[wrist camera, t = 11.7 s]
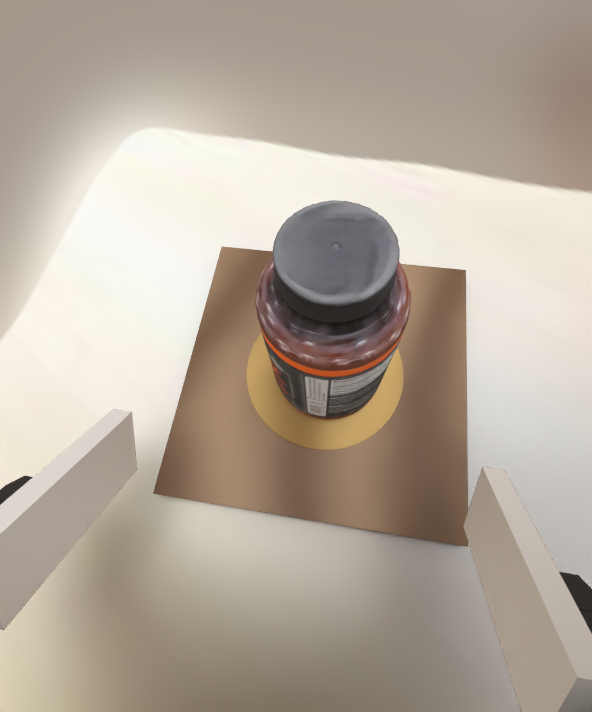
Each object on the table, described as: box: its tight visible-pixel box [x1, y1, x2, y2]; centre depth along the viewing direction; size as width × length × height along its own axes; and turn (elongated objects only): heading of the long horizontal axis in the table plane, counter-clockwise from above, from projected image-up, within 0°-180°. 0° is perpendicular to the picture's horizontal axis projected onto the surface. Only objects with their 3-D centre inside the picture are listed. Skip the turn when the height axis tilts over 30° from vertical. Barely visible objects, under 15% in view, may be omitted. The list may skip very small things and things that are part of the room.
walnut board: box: [153, 247, 468, 547], centre depth 23 cm, size 16×16×1 cm
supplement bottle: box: [255, 201, 411, 420], centre depth 17 cm, size 6×6×11 cm
